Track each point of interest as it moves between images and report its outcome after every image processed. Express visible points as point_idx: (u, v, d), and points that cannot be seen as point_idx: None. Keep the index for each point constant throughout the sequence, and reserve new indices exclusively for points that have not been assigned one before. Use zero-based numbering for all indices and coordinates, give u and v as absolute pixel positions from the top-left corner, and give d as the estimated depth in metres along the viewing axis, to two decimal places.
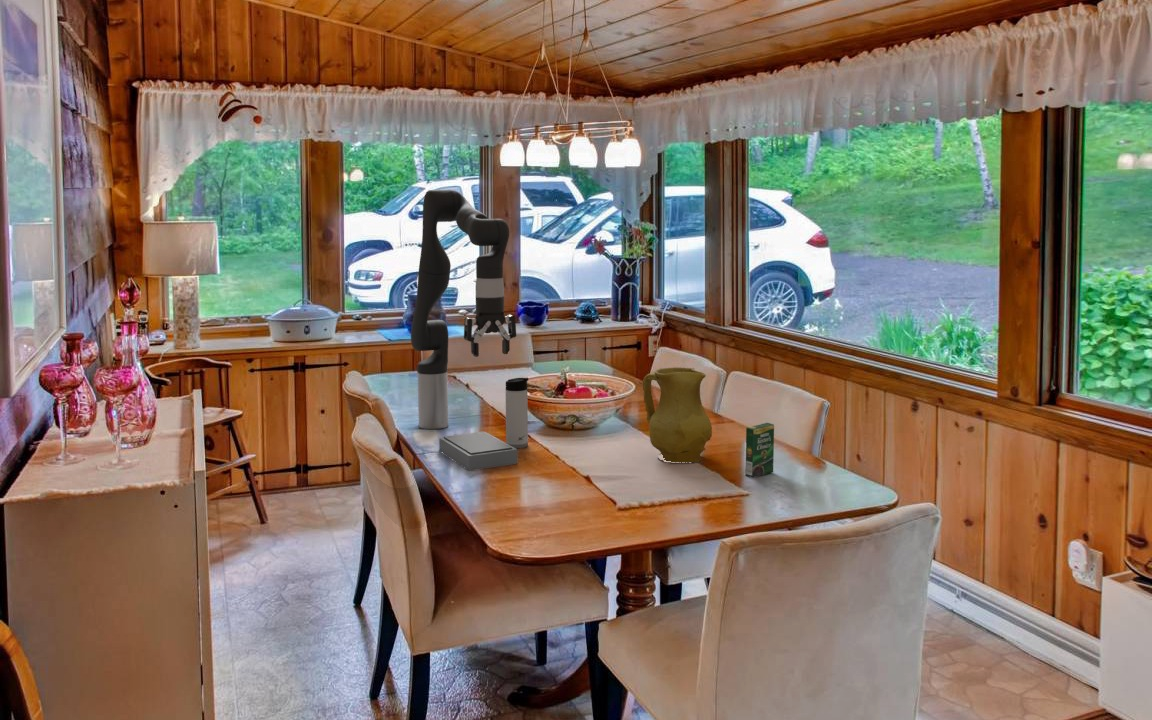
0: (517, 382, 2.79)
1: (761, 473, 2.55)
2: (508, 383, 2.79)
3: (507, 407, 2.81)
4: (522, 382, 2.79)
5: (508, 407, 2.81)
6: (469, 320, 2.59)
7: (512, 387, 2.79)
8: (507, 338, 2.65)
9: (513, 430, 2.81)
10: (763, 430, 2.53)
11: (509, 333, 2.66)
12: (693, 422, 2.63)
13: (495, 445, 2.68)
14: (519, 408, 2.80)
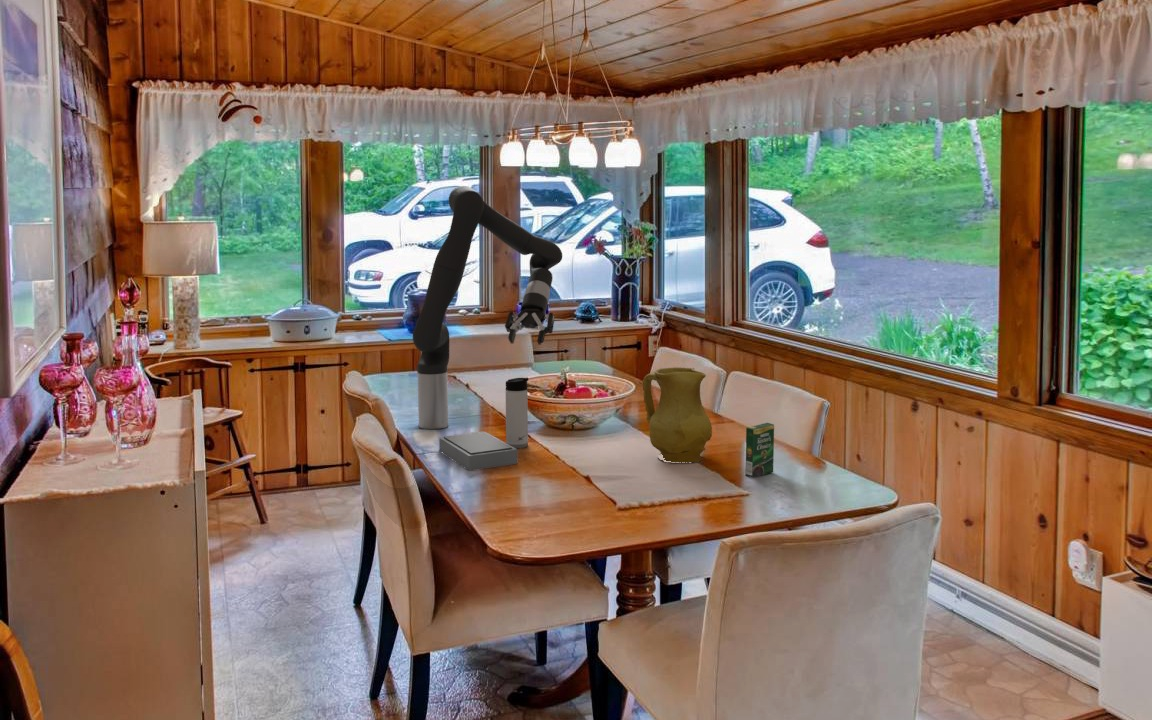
0: (517, 382, 2.79)
1: (761, 473, 2.55)
2: (508, 383, 2.79)
3: (507, 407, 2.81)
4: (522, 382, 2.79)
5: (508, 407, 2.81)
6: None
7: (512, 387, 2.79)
8: None
9: (513, 430, 2.81)
10: (763, 430, 2.53)
11: None
12: (693, 422, 2.63)
13: (495, 445, 2.68)
14: (519, 408, 2.80)
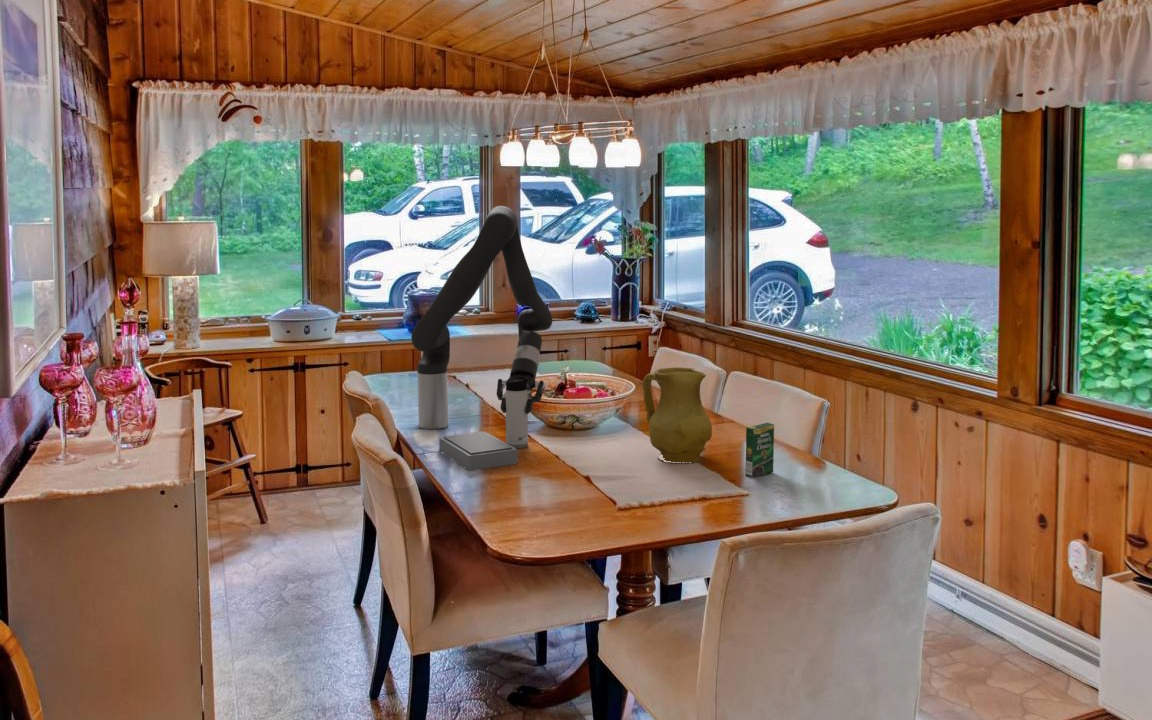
0: (517, 382, 2.79)
1: (761, 473, 2.55)
2: (508, 383, 2.79)
3: (507, 407, 2.81)
4: (522, 382, 2.79)
5: (508, 407, 2.81)
6: None
7: (513, 387, 2.79)
8: None
9: (513, 430, 2.81)
10: (763, 430, 2.53)
11: None
12: (693, 422, 2.63)
13: (495, 445, 2.68)
14: (519, 408, 2.80)
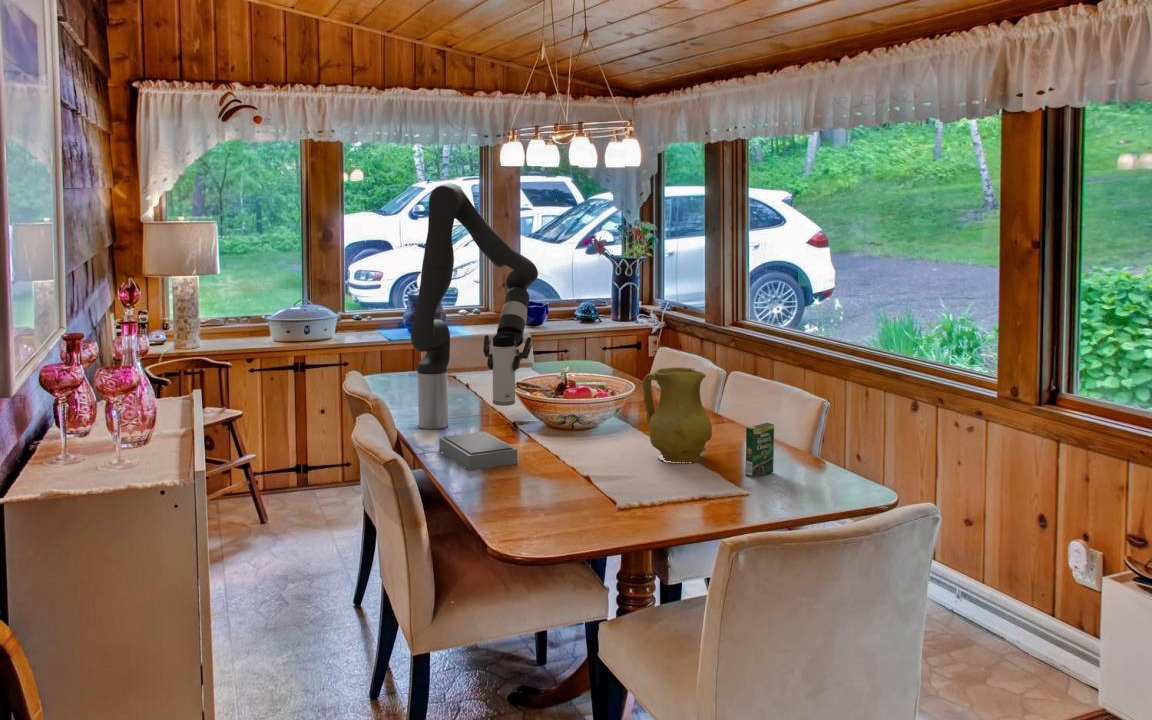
0: (505, 338, 2.72)
1: (761, 473, 2.55)
2: (495, 339, 2.73)
3: (494, 363, 2.75)
4: (510, 338, 2.73)
5: (495, 364, 2.74)
6: None
7: (500, 343, 2.73)
8: None
9: (500, 387, 2.75)
10: (763, 430, 2.53)
11: None
12: (693, 422, 2.63)
13: (495, 445, 2.68)
14: (507, 365, 2.74)
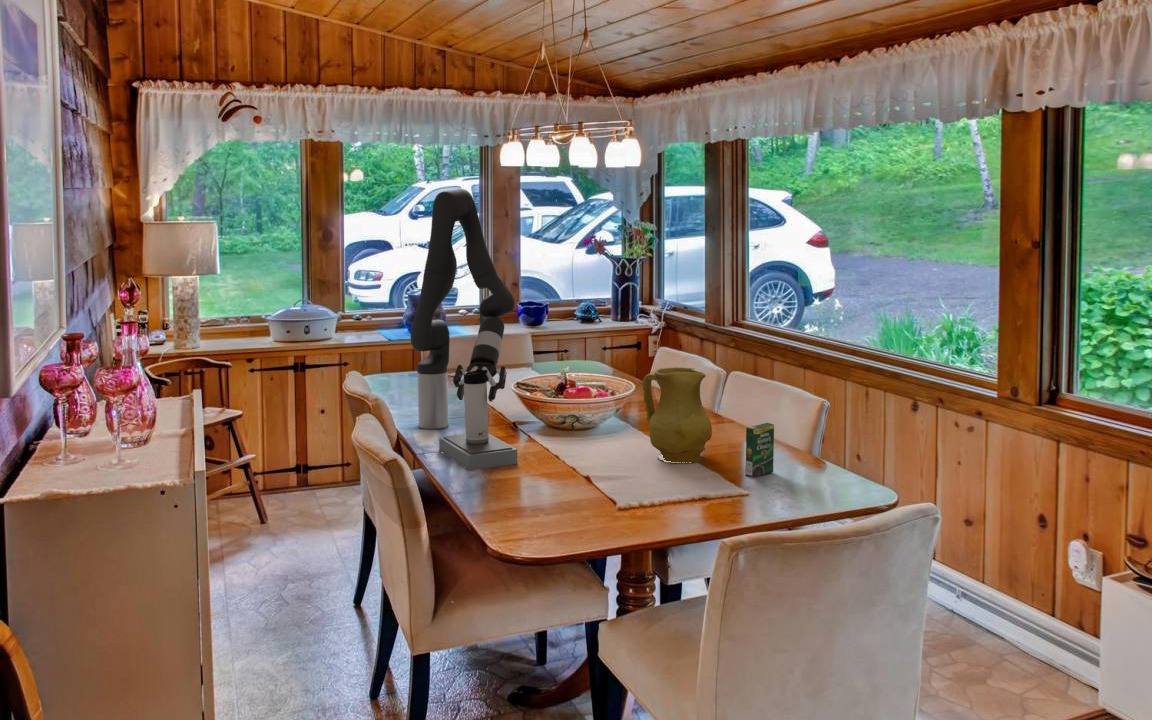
0: (475, 375, 2.66)
1: (761, 473, 2.55)
2: (466, 376, 2.67)
3: (466, 401, 2.68)
4: (480, 375, 2.66)
5: (467, 401, 2.68)
6: None
7: (470, 380, 2.66)
8: None
9: (472, 425, 2.68)
10: (763, 430, 2.53)
11: None
12: (693, 422, 2.63)
13: (495, 445, 2.68)
14: (478, 402, 2.67)
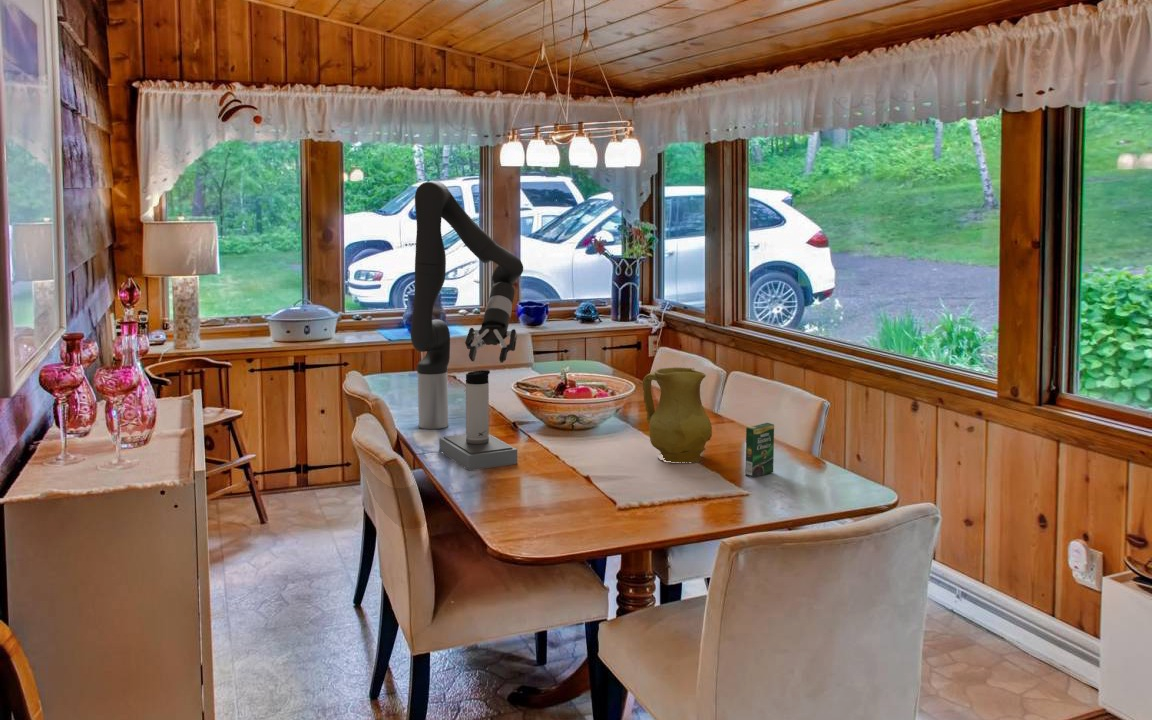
0: (477, 375, 2.66)
1: (761, 473, 2.55)
2: (468, 376, 2.67)
3: (467, 401, 2.68)
4: (483, 375, 2.66)
5: (468, 401, 2.68)
6: None
7: (473, 380, 2.66)
8: None
9: (473, 425, 2.68)
10: (763, 430, 2.53)
11: None
12: (693, 422, 2.63)
13: (495, 445, 2.68)
14: (480, 402, 2.67)
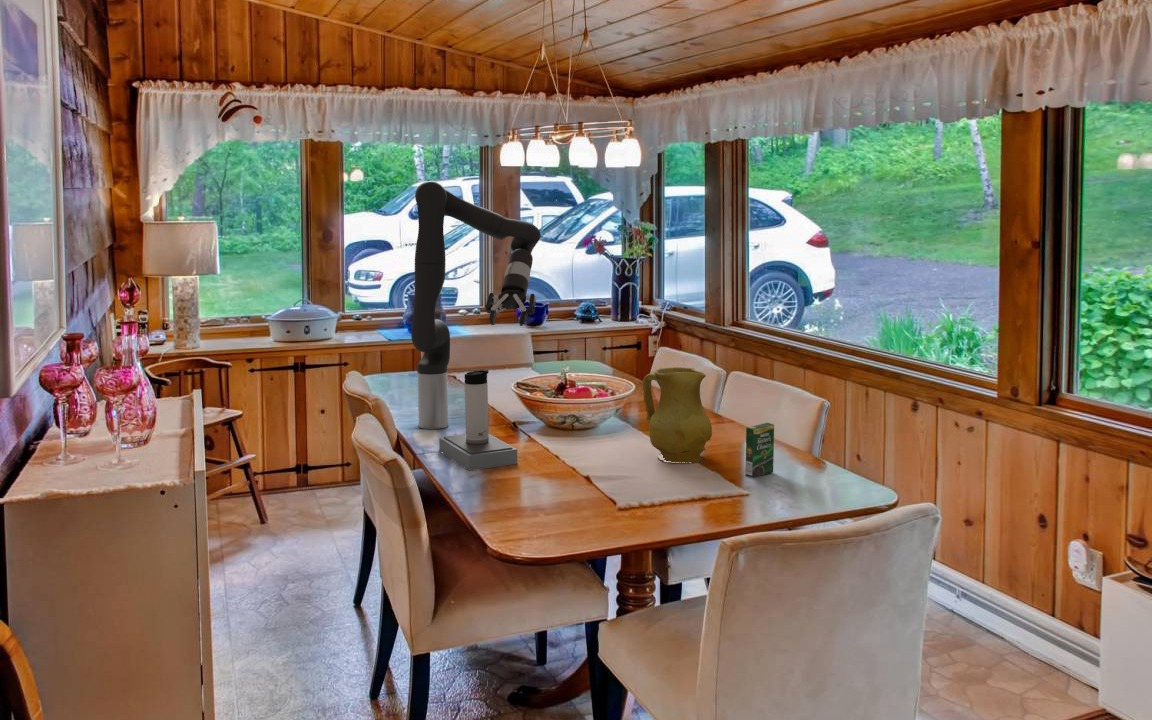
0: (476, 375, 2.66)
1: (761, 473, 2.55)
2: (467, 376, 2.66)
3: (466, 401, 2.68)
4: (481, 375, 2.66)
5: (467, 401, 2.68)
6: None
7: (471, 380, 2.66)
8: None
9: (473, 425, 2.68)
10: (763, 430, 2.53)
11: None
12: (693, 422, 2.63)
13: (495, 445, 2.68)
14: (479, 403, 2.67)
